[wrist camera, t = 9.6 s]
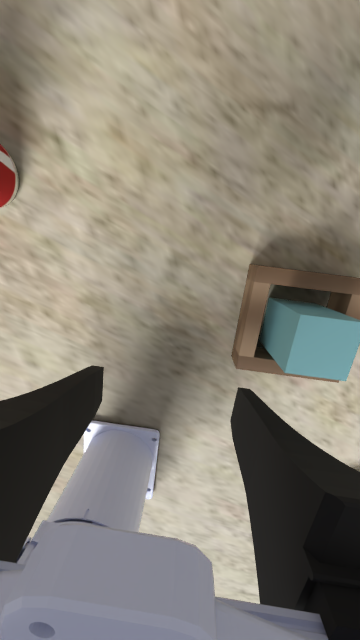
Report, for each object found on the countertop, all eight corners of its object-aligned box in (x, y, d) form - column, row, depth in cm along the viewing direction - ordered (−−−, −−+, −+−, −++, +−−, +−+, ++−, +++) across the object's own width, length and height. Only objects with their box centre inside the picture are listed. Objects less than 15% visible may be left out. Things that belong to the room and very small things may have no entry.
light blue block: (303, 346, 20) (346, 381, 15) (259, 340, 21) (284, 372, 15) (315, 303, 19) (367, 322, 14) (269, 297, 19) (300, 314, 14)
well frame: (321, 368, 21) (338, 382, 18) (231, 355, 21) (236, 368, 19) (351, 276, 19) (374, 280, 16) (249, 264, 19) (257, 265, 16)
